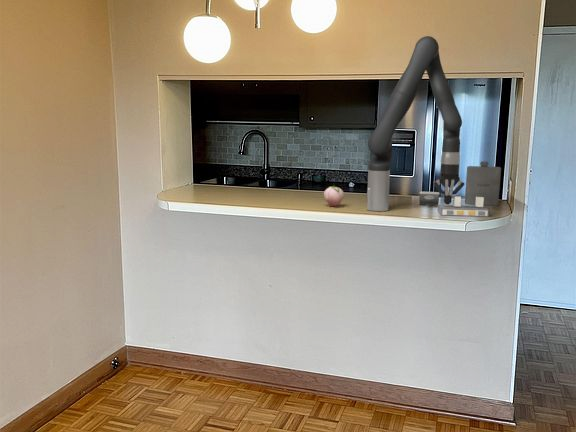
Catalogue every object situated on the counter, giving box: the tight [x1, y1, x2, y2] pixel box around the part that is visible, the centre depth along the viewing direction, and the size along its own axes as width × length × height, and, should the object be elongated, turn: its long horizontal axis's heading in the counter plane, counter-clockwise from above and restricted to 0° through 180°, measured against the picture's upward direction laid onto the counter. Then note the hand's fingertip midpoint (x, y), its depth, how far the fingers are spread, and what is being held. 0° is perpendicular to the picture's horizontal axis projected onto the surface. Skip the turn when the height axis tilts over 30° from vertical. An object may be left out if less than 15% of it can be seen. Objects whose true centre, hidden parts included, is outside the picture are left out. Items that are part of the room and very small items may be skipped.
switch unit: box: [437, 204, 490, 218], centre depth 237 cm, size 19×10×3 cm, turn 84°
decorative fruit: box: [323, 185, 345, 208], centre depth 252 cm, size 9×8×10 cm
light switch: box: [418, 191, 441, 207], centre depth 254 cm, size 8×6×14 cm
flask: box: [464, 160, 502, 207], centre depth 263 cm, size 15×6×20 cm, turn 77°
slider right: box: [474, 196, 484, 207], centre depth 236 cm, size 2×4×4 cm
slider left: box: [452, 195, 462, 207], centre depth 237 cm, size 2×4×4 cm
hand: (447, 204), depth 238 cm, fingers closed
